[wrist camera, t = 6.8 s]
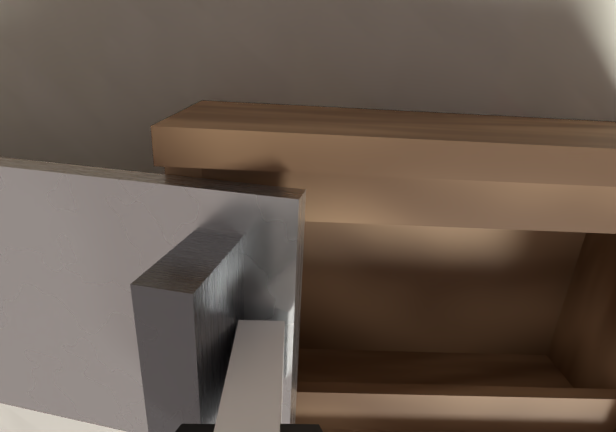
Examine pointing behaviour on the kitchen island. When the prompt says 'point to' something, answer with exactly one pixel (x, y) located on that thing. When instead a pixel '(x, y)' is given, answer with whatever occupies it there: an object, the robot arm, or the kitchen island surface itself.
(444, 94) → the kitchen island surface
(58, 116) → the kitchen island surface
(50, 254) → the cover plate
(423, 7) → the kitchen island surface
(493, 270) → the box
